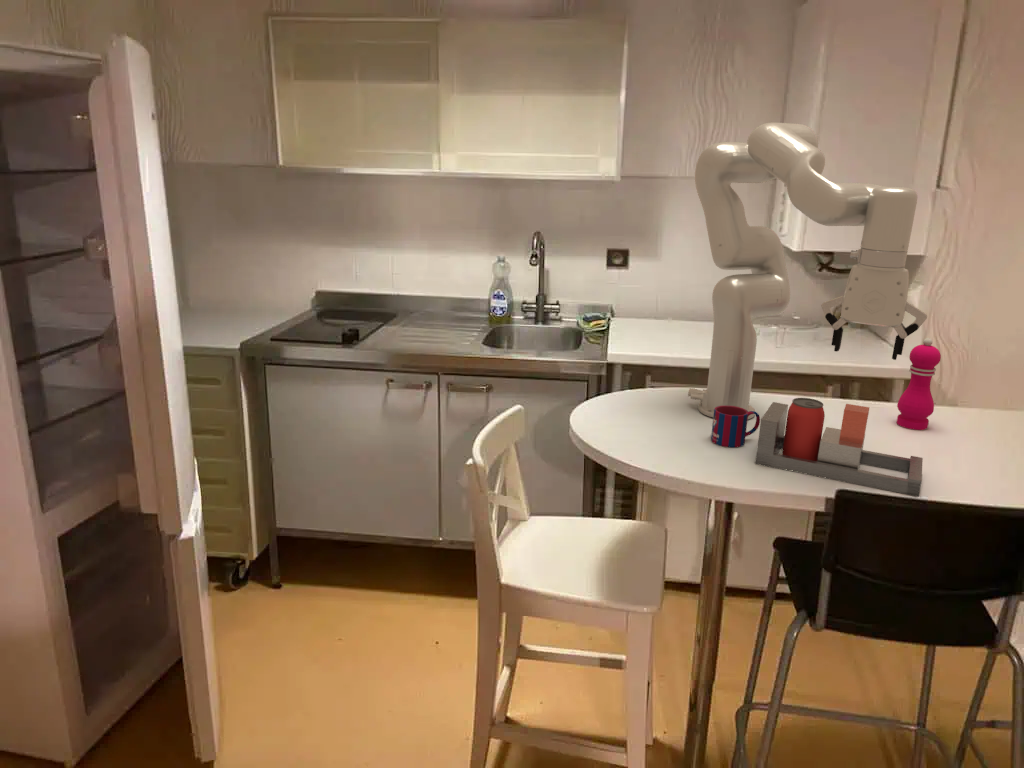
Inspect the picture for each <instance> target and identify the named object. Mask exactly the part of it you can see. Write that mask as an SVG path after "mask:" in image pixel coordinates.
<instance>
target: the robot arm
mask: <svg viewBox="0 0 1024 768" xmlns="http://www.w3.org/2000/svg"><path fill="white" fill-rule="evenodd" d="M818 146H819V142H818V137H817V135H816V133H815V131H814V130H813V129H812V128H811V127H809V126H808V125H805V124H802V123H790V122H789V123H788V122H787V123H786V122H766V123H762V124H760V125H758V126H757V127H755V128H754V129H753V130H752V131H751V132H750V134H749V136H748V138H747V141H746V142H740V141H739V142H737V141H726V142H725V141H723V142H717V143H712V144H710V145H709V146H706V148H705V149H703V151H702V152H701V153H700V154H699V156H698V159H697V162H696V165H695V169H694V171H695V172H694V182H695V188H696V193H697V195H698V199H699V201H700V204H701V207H702V209H703V213H704V217H705V225H706V226H705V227H706V230H707V235H708V242H709V247H710V252H711V256H712V257H711V258H712V260H713V263H714V265H715V266H716V267H717V268H718V269H721V270H725V271H735V270H736V271H740V270H745V271H746V270H750V271H751V273H742V274H741V273H740V274H739V273H738V274H731V275H727V276H724V277H723V278H721V279H720V280H719V281H717V283H715V285H714V288H713V290H712V293H711V294H712V298H711V300H712V301H711V302H712V310H713V311H712V312H713V332H712V339H711V340H712V341H711V350H710V351H711V352H710V358H709V359H710V361H709V370H708V378H707V388H706V389H702V390H701V389H700V390H699V389H697V388H689V389H688V393H687V396H688V397H690V399H691V400H696V401H697V400H698V401H700V402H699V403H698V406H697V407H698V408H697V410H698V411H699V412H700V413H701V414H702V415H705V416H707V417H711V418H713V417H714V409H715V407H717V406H723V405H728V406H736V407H740V408H743V409H745V410H747V411H748V412H749V411H755V412H756V410H755V408H754V407H753V406H751V405H750V401H751V400H750V398H751V390H752V382H753V377H754V375H753V374H754V366H755V358H756V352H757V351H756V350H757V341H758V337H757V332H756V329H755V326H754V325H753V322H752V318H759V317H770V316H776V315H780V314H781V313H784V311H785V310H786V309H787V307H788V305H789V303H790V299H791V287H790V286H791V284H790V281H789V276H788V275H789V274H788V271H787V269H788V268H787V264H786V258H785V255H784V254H785V253H784V249H783V244H782V241H781V239H780V237H779V235H778V234H777V233H776V232H775V231H774V230H773V229H771V228H769V227H767V226H762V225H761V226H759V225H757V226H756V225H754V226H753V225H749V224H748V221H747V218H746V212H745V207H744V204H743V201H742V199H741V197H740V196H739V195H738V194H737V192H736V190H734V189H733V187H732V186H731V184H733V183H735V184H736V183H737V184H762V183H768V182H771V181H772V180H775V179H778V180H779V181H780V182H782V183H783V184H785V185H786V191H787V195H788V198H789V200H790V202H791V204H792V205H793V207H794V208H795V209H797V210H798V211H799V212H800V213H802V214H803V215H805V216H806V217H807V218H808V219H810V220H812V221H813V222H815V223H817V224H819V225H823V226H827V227H863V230H862V236H861V243H860V248H858V249H855V250H853V249H852V250H851V251H850V254H849V258H850V259H854V260H856V261H857V264H856V263H855V264H854V265H852V267H851V269H850V272H849V275H848V277H847V282H846V285H845V290H844V294H843V295H841V296H838V297H836V298H832V299H829V300H825V301H824V302H822V303H821V304H820V306H821V309H822V312H823V314H824V317H825V319H826V321H827V322H828V323H829V324H830V325H831V327H832V330H833V332H832V339H831V346H834V348H833V351H834V352H839V351H840V349H841V345H842V341H843V334H844V328H843V326H844V325H845V324H846V323H854V324H860V325H861V324H862V325H869V326H877V327H885V328H886V327H887V328H893V329H894V330H895V332H896V333H897V335H896V336H895V339H894V346H893V351H892V356H891V359H892V360H894V361H897V358H898V355H899V356H902V355H903V350H904V344H905V339H906V338H907V337H909V336H910V335H912V334H913V333H915V332H916V331H918V330H919V328H920V327H922V325H923V324H924V322H926V320H927V319H928V314H927V313H926V312H924V311H923V310H921V309H918V307H916V306H914V305H913V304H911V303H909V302H908V301H907V300H908V293H909V283H910V281H909V280H910V276H909V275H910V273H909V269H907V268H905V267H906V262H907V257H908V256H907V255H908V251H909V247H910V241H911V235H912V229H913V224H914V220H915V214H916V209H917V203H918V193H917V191H916V190H915V189H912V188H910V187H902V186H901V187H900V186H899V187H898V186H883V185H879V184H875V183H874V184H873V183H867V182H866V183H859V182H833V181H831V180H829V179H827V178H826V177H824V176H823V175H822V173H823V171H824V168H825V166H826V157H825V155H824V153H823V151H822V150H820V149H819V147H818ZM840 305H841V309H840V310H841V311H840V317H839V318H837V316H836V315H835V314H834V313H833V311H832V308H833V307H836V306H840ZM906 312H907V313H908V314H909V315H911V316H913V317H914V318H915V320H914V321H913V322H912V323H910V324H909V325H907V326H906V327H905V325H904V324H903V321H904V318H905V314H906ZM754 417H756V415H755V414H751V415H749V416H748V420H750V419H752V418H754Z"/></svg>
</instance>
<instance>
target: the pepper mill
mask: <svg viewBox="0 0 1024 768" xmlns="http://www.w3.org/2000/svg"><path fill="white" fill-rule="evenodd" d="M909 360H910V362H911V364H910V366H909V368H910V369H909V371H908V372H910V380H909V383H908V385H907V387H906V389H905V390H904V391H903V393H902V394H901V396H900V397H899V399H898V400H897V401H898V402H897V405H896V407H897V409H898V411H899V413H900V414H899V413H898V415H897V418H896V424H897V425H898V426H900V427H902V428H904V429H909V430H914V431H924V430H927V429H928V427H929V423H930V420H929V418H928V417H930V416H931V415H933V413H934V411H935V402H934V398H933V395H932V391H931V381H932V379H933V376H935V374H936V373H935V372H936V370H937V369H936V368H935V367H936V366H937V365H938V364H940V362H941V352H940V350H939V349H938V348H937V347H936V346H934V345H933V339H932V338H930V337H926V338H924V340H923V341H922V344H919V345H916V346H914V347H913V348H912V349H911V351H910V353H909Z"/></svg>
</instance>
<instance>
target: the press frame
mask: <svg viewBox="0 0 1024 768" xmlns="http://www.w3.org/2000/svg"><path fill="white" fill-rule="evenodd" d="M788 410H789V404H786V403H781V402H775V401H772V402H771V404H770V405H769V407H768V408H767V410H766V411H765V413H764V415H763V416H762V417H761V418H760V423H759V431H758V439H757V447H756V455H755V462H754V463H756V464H755V465H759V464H761V465H760V466H764V465H765V466H764V467H769V466H770V468H774V467H775V469H779V468H780V470H784V469H787V470H786V471H789V470H793V471H792V472H794V471H798V472H797V473H799V472H802V473H801V474H804V473H807V474H806V475H809V474H811V475H810V476H814V475H816V476H815V477H819V476H820V477H819V478H824V477H826V478H825V479H829V478H830V480H833V479H835V481H838V480H840V481H839V482H843V481H845V483H848V482H849V484H853V485H858V486H864V487H868V488H873V489H879V490H883V491H889V492H894V493H899V494H905V495H909V496H913V497H919V496H920V491H921V487H922V482H923V459H924V457H920V456H915V455H910V458H908V457H903V456H897V455H892V454H887V453H882V452H875V451H870V450H866V449H865V450H864V449H863V450H862V456H861V462H860V465H861V464H862V465H867V466H870V467H871V466H872V467H877V468H882V469H886V470H893V471H898V472H904V473H907V477H906V478H904V477H900V476H893V475H888V474H883V473H879V472H874V471H873V472H872V471H870V470H869V471H867V470H862V469H859V470H858V469H853V468H848V467H843V466H838V465H833V464H827V463H822V462H817V461H812V460H807V459H802V458H796V457H791V456H786V455H782V453H780V452H781V450H783V444H784V437H785V429H786V422H787V415H788Z"/></svg>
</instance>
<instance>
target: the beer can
mask: <svg viewBox="0 0 1024 768" xmlns="http://www.w3.org/2000/svg"><path fill="white" fill-rule="evenodd" d="M791 401H792V403H790V406H788V410H787V418H786V425H785V432H784V436H785V437H784V444H783V449H782V452H781V455H786V456H791V457H796V458H802V459H807V460H812V461H817V460H818V454H819V447H820V441H821V439H822V436H823V429H824V424H825V423H824V422H825V416H826V415H825V409H824V407H823V406H824V403H823V402H822V401H820V400H818V399H813V398H809V397H796V398H794V399H792V400H791Z"/></svg>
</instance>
